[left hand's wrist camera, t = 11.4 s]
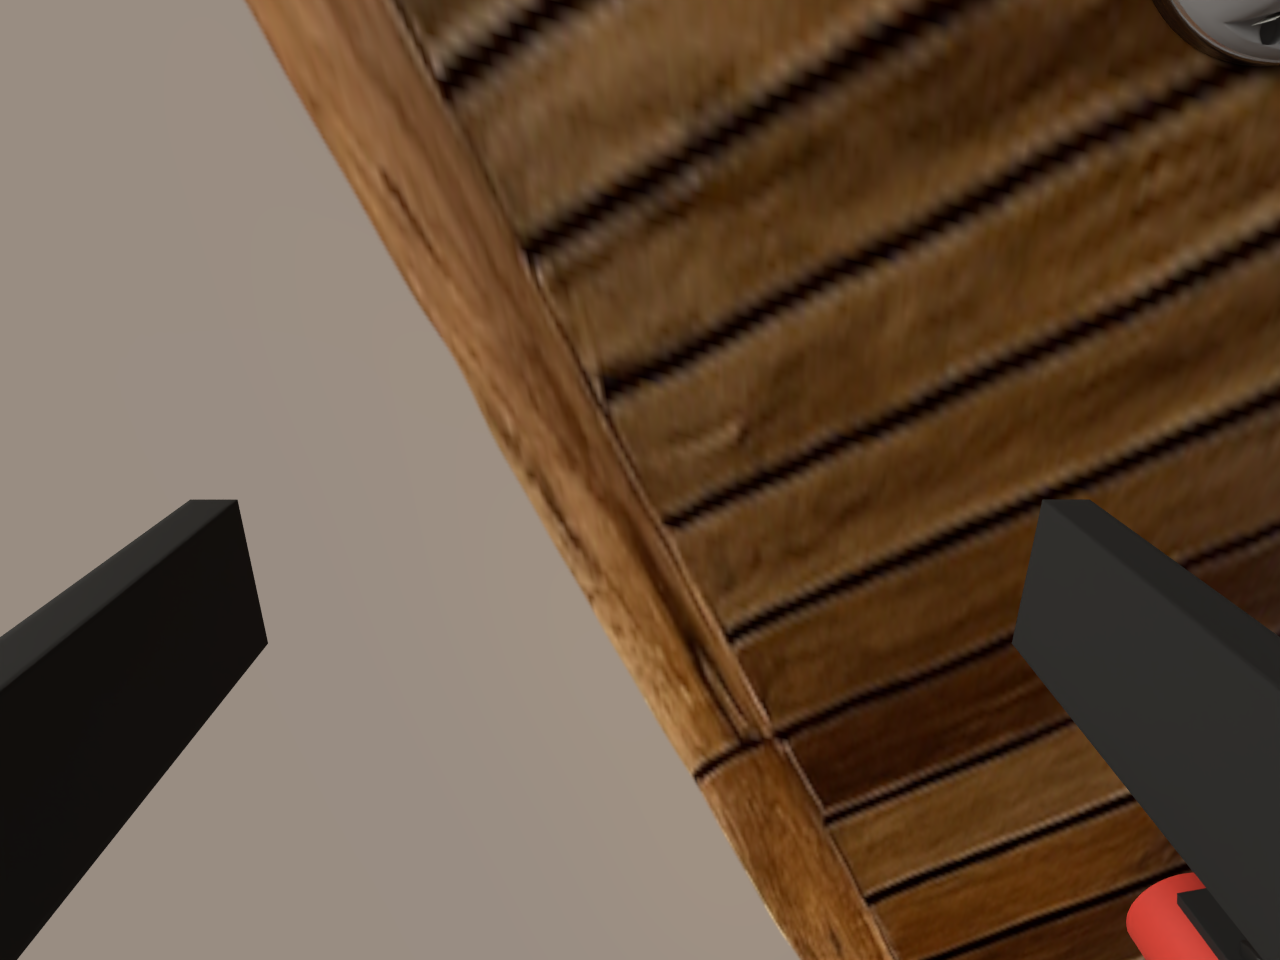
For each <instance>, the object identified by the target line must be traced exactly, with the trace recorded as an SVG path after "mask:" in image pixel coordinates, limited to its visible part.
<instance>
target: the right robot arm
mask: <svg viewBox="0 0 1280 960" xmlns="http://www.w3.org/2000/svg"><path fill="white" fill-rule="evenodd" d="M1177 904H1178V906H1179V907H1180V908H1181V910H1182V911H1183V913H1184V914H1185V915H1186V917H1187V918H1188V919H1189V921H1190V922H1191V923H1192V925H1193V926H1194V927H1195V929H1196V930H1197V931H1198V933H1199V934H1200V935H1201V937H1202V938H1203V939H1204V941H1205V942H1206V943H1207V945H1208V946H1209V947H1210V949H1211V950H1212V952H1213V953H1214V954H1215V956H1216V957H1217V958H1218V960H1263V959H1262V958H1261V956H1260V955H1259V954H1258V953H1257V951H1256V950H1255V949H1254V948H1253V946H1252V945H1251V944H1250V943H1249V941H1248V940H1247V939H1246V938H1245V936H1244V935H1243V934H1242V933H1241V931H1240V930H1239V929H1238V927H1237V926H1236V925H1235V924H1234V922H1233V921H1232V920H1231V919H1230V917H1229V916H1228V915H1227V914H1226V912H1225V911H1224V910H1223V909H1222V907H1221V906H1220V905H1219V904H1218V902H1217V901H1216V900H1215V899H1214V897H1213V896H1212V895H1211V893H1210V892H1209V891H1208V890H1207V888H1203V889H1197V890H1192V891H1186V892H1181V893H1177Z"/></svg>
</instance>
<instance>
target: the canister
mask: <svg viewBox="0 0 1280 960" xmlns="http://www.w3.org/2000/svg"><path fill="white" fill-rule="evenodd" d="M1203 888H1206V887H1205V886H1204V885H1203V883H1202V882H1201V881H1200V880H1199V878H1198V877H1197V876H1196V875H1195V873H1185V874H1180V875H1176V876H1172V877H1169V878H1166V879H1164V880H1162V881H1160V882H1158V883H1156V884H1154V885H1152V886H1151V887H1149V888H1148V889H1146V890H1145V891H1144V892H1143V893H1142V894H1140V895H1139V896H1138V898H1137V899H1136V900H1135V901H1134V902H1133V904H1132V905H1131V907H1130V909H1129V911H1128V915H1127V920H1126V923H1127V929H1128V932H1129V934H1130V936H1131V938H1132V939H1133V941H1134V942H1135V944H1136V945H1137V947H1138V948H1139V950H1140V952H1141V953H1142V955H1143V956H1144V958H1145V959H1146V960H1218V958H1217V957H1216V956H1215V954H1214V953H1213V952H1212V950H1211V949H1210V947H1209V946H1208V945H1207V943H1206V942H1205V941H1204V939H1203V938H1202V937H1201V935H1200V934H1199V933H1198V931H1197V930H1196V929H1195V927H1194V926H1193V925H1192V923H1191V922H1190V921H1189V919H1188V918H1187V917H1186V915H1185V914H1184V913H1183V911H1182V910H1181V908H1180V907H1179V906H1178V904H1177V893H1181V892H1186V891H1192V890H1197V889H1203Z"/></svg>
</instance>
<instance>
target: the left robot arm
mask: <svg viewBox="0 0 1280 960" xmlns="http://www.w3.org/2000/svg"><path fill="white" fill-rule="evenodd" d="M1153 2H1154V4H1155V6H1156V8H1157V9H1158V11H1159V12H1160V14H1161V15H1162V17H1163V18H1164V20H1165V21H1166V22H1167V23H1168V24H1169V26H1170V27H1171V28H1172V29H1173V30H1174V31H1175V32H1176V33H1177V34H1178V35H1179V36H1180V37H1181V38H1182V39H1183V40H1185V41H1186V42H1187V43H1189V44H1190V45H1192V46H1193V47H1194V48H1196V49H1197V50H1199V51H1201V52H1203V53H1205V54H1207V55H1209V56H1211V57H1214V58H1217V59H1219V60H1222V61H1225V62H1229V63H1234V64H1238V65H1246V66H1277V65H1280V0H1153ZM267 644H268V641H267V636H266V632H265V627H264V622H263V618H262V613H261V608H260V604H259V599H258V594H257V590H256V585H255V580H254V575H253V571H252V566H251V561H250V557H249V552H248V547H247V542H246V538H245V533H244V528H243V524H242V519H241V514H240V510H239V505H238V500H189V501H188V502H187V503H185V504H184V505H182V506H181V507H180V508H178V509H177V510H176V511H174V512H173V513H171V514H170V515H169V516H167V517H166V518H164V519H163V520H162V521H160V522H159V523H158V524H156V525H155V526H153V527H152V528H151V529H149V530H148V531H147V532H145V533H144V534H142V535H141V536H140V537H138V538H137V539H135V540H134V541H133V542H131V543H130V544H129V545H127V546H126V547H124V548H123V549H122V550H120V551H119V552H118V553H116V554H115V555H113V556H112V557H111V558H109V559H108V560H106V561H105V562H104V563H102V564H101V565H100V566H98V567H97V568H95V569H94V570H93V571H91V572H90V573H88V574H87V575H86V576H84V577H83V578H82V579H80V580H79V581H77V582H76V583H75V584H73V585H72V586H70V587H69V588H68V589H66V590H65V591H64V592H62V593H61V594H59V595H58V596H57V597H55V598H54V599H53V600H51V601H50V602H48V603H47V604H46V605H44V606H43V607H41V608H40V609H39V610H37V611H36V612H35V613H33V614H32V615H30V616H29V617H28V618H26V619H25V620H23V621H22V622H21V623H19V624H18V625H17V626H15V627H14V628H12V629H11V630H10V631H8V632H7V633H5V634H4V635H3V636H1V637H0V960H17V959H18V958H19V956H20V955H21V954H22V953H23V951H24V950H25V949H26V948H27V946H28V945H29V944H30V943H31V941H32V940H33V939H34V938H35V936H36V935H37V934H38V933H39V931H40V930H41V929H42V927H43V926H44V925H45V924H46V922H47V921H48V920H49V919H50V917H51V916H52V915H53V914H54V912H55V911H56V910H57V909H58V907H59V906H60V905H61V904H62V902H63V901H64V900H65V898H66V897H67V896H68V895H69V893H70V892H71V891H72V890H73V888H74V887H75V886H76V885H77V883H78V882H79V881H80V880H81V878H82V877H83V876H84V875H85V873H86V872H87V871H88V870H89V868H90V867H91V866H92V864H93V863H94V862H95V861H96V859H97V858H98V857H99V856H100V854H101V853H102V852H103V851H104V849H105V848H106V847H107V846H108V844H109V843H110V842H111V840H112V839H113V838H114V837H115V835H116V834H117V833H118V832H119V830H120V829H121V828H122V827H123V825H124V824H125V823H126V822H127V820H128V819H129V818H130V817H131V815H132V814H133V813H134V812H135V810H136V809H137V808H138V806H139V805H140V804H141V803H142V801H143V800H144V799H145V798H146V796H147V795H148V794H149V793H150V791H151V790H152V789H153V788H154V786H155V785H156V784H157V783H158V781H159V780H160V779H161V777H162V776H163V775H164V774H165V772H166V771H167V770H168V769H169V767H170V766H171V765H172V764H173V762H174V761H175V760H176V759H177V757H178V756H179V755H180V754H181V752H182V751H183V750H184V749H185V747H186V746H187V745H188V743H189V742H190V741H191V740H192V738H193V737H194V736H195V735H196V733H197V732H198V731H199V730H200V728H201V727H202V726H203V725H204V723H205V722H206V721H207V720H208V718H209V717H210V716H211V715H212V713H213V712H214V711H215V709H216V708H217V707H218V706H219V704H220V703H221V702H222V701H223V699H224V698H225V697H226V696H227V694H228V693H229V692H230V691H231V689H232V688H233V687H234V686H235V684H236V683H237V682H238V680H239V679H240V678H241V677H242V675H243V674H244V673H245V672H246V670H247V669H248V668H249V667H250V665H251V664H252V663H253V662H254V660H255V659H256V658H257V657H258V655H259V654H260V653H261V651H262V650H263V649H264V648H265V646H266V645H267ZM1012 644H1013V645H1014V646H1015V648H1016V649H1017V650H1018V652H1019V653H1020V654H1021V655H1022V657H1023V658H1024V659H1025V660H1026V662H1027V663H1028V664H1029V665H1030V667H1031V668H1032V669H1033V670H1034V672H1035V673H1036V674H1037V675H1038V677H1039V678H1040V679H1041V680H1042V682H1043V683H1044V684H1045V686H1046V687H1047V688H1048V689H1049V691H1050V692H1051V693H1052V694H1053V696H1054V697H1055V698H1056V699H1057V701H1058V702H1059V703H1060V704H1061V706H1062V707H1063V708H1064V709H1065V711H1066V712H1067V713H1068V715H1069V716H1070V717H1071V718H1072V720H1073V721H1074V722H1075V723H1076V725H1077V726H1078V727H1079V728H1080V730H1081V731H1082V732H1083V733H1084V735H1085V736H1086V737H1087V738H1088V740H1089V741H1090V742H1091V744H1092V745H1093V746H1094V747H1095V749H1096V750H1097V751H1098V752H1099V754H1100V755H1101V756H1102V757H1103V759H1104V760H1105V761H1106V762H1107V764H1108V765H1109V766H1110V767H1111V769H1112V770H1113V771H1114V772H1115V774H1116V775H1117V776H1118V778H1119V779H1120V780H1121V781H1122V783H1123V784H1124V785H1125V786H1126V788H1127V789H1128V790H1129V791H1130V793H1131V794H1132V795H1133V796H1134V798H1135V799H1136V800H1137V801H1138V803H1139V804H1140V805H1141V807H1142V808H1143V809H1144V810H1145V812H1146V813H1147V814H1148V815H1149V817H1150V818H1151V819H1152V820H1153V822H1154V823H1155V824H1156V825H1157V827H1158V828H1159V829H1160V830H1161V832H1162V833H1163V834H1164V835H1165V837H1166V838H1167V839H1168V841H1169V842H1170V843H1171V844H1172V846H1173V847H1174V848H1175V849H1176V851H1177V852H1178V853H1179V854H1180V856H1181V857H1182V858H1183V859H1184V861H1185V862H1186V863H1187V864H1188V866H1189V867H1190V868H1191V870H1192V871H1193V872H1194V873H1195V875H1196V876H1197V877H1198V878H1199V880H1200V881H1201V882H1202V883H1203V885H1204V886H1205V887H1206V888H1207V890H1208V891H1209V892H1210V893H1211V895H1212V896H1213V897H1214V899H1215V900H1216V901H1217V902H1218V904H1219V905H1220V906H1221V907H1222V909H1223V910H1224V911H1225V912H1226V914H1227V915H1228V916H1229V917H1230V919H1231V920H1232V921H1233V922H1234V924H1235V925H1236V926H1237V927H1238V929H1239V930H1240V931H1241V933H1242V934H1243V935H1244V936H1245V938H1246V939H1247V940H1248V941H1249V943H1250V944H1251V945H1252V946H1253V948H1254V949H1255V950H1256V951H1257V953H1258V954H1259V955H1260V956H1261V958H1262V959H1263V960H1280V637H1279V636H1277V635H1276V634H1275V633H1273V632H1272V631H1270V630H1269V629H1268V628H1266V627H1265V626H1263V625H1262V624H1261V623H1259V622H1258V621H1257V620H1255V619H1254V618H1252V617H1251V616H1250V615H1248V614H1247V613H1246V612H1244V611H1243V610H1241V609H1240V608H1239V607H1237V606H1236V605H1234V604H1233V603H1232V602H1230V601H1229V600H1228V599H1226V598H1225V597H1223V596H1222V595H1221V594H1219V593H1218V592H1216V591H1215V590H1214V589H1212V588H1211V587H1210V586H1208V585H1207V584H1205V583H1204V582H1203V581H1201V580H1200V579H1199V578H1197V577H1196V576H1194V575H1193V574H1192V573H1190V572H1189V571H1187V570H1186V569H1185V568H1183V567H1182V566H1181V565H1179V564H1178V563H1176V562H1175V561H1174V560H1172V559H1171V558H1169V557H1168V556H1167V555H1165V554H1164V553H1163V552H1161V551H1160V550H1158V549H1157V548H1156V547H1154V546H1153V545H1151V544H1150V543H1149V542H1147V541H1146V540H1145V539H1143V538H1142V537H1140V536H1139V535H1138V534H1136V533H1135V532H1134V531H1132V530H1131V529H1129V528H1128V527H1127V526H1125V525H1124V524H1122V523H1121V522H1120V521H1118V520H1117V519H1116V518H1114V517H1113V516H1111V515H1110V514H1109V513H1107V512H1106V511H1104V510H1103V509H1102V508H1100V507H1099V506H1098V505H1096V504H1095V503H1093V502H1092V501H1091V500H1042V505H1041V510H1040V514H1039V519H1038V524H1037V528H1036V533H1035V538H1034V542H1033V547H1032V552H1031V557H1030V561H1029V566H1028V571H1027V575H1026V580H1025V585H1024V589H1023V594H1022V599H1021V603H1020V608H1019V613H1018V618H1017V622H1016V627H1015V632H1014V636H1013V641H1012Z"/></svg>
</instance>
